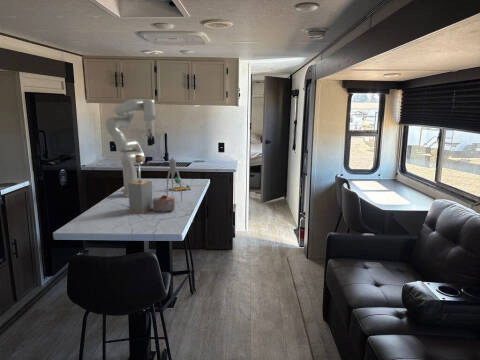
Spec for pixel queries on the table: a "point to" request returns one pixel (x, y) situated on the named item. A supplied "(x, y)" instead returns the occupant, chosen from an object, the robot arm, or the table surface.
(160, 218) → the table surface
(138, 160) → the knob
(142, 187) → the beige tall block
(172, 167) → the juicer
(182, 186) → the frog figurine
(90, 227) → the table surface
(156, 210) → the food item
